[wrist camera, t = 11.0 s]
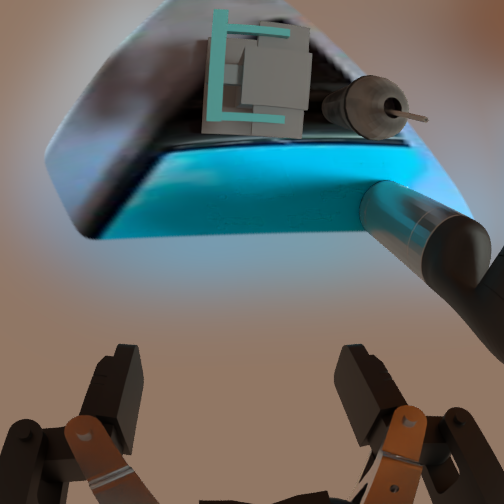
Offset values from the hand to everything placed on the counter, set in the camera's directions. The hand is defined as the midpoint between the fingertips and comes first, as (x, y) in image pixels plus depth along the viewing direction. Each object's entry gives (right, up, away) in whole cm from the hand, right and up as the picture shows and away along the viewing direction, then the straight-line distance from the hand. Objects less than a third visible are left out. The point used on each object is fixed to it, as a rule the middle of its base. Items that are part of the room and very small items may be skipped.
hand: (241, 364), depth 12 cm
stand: (-1, +26, +26) cm, 37 cm away
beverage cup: (+12, +24, +28) cm, 39 cm away
